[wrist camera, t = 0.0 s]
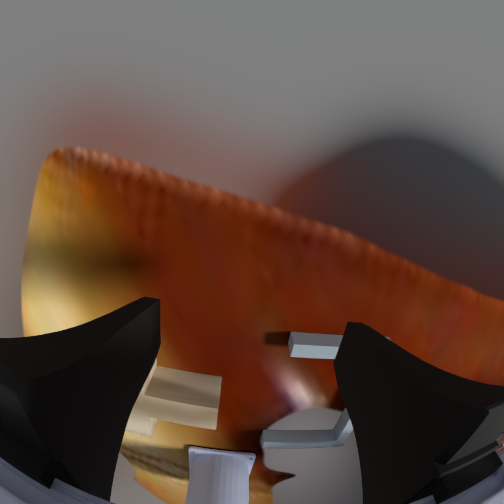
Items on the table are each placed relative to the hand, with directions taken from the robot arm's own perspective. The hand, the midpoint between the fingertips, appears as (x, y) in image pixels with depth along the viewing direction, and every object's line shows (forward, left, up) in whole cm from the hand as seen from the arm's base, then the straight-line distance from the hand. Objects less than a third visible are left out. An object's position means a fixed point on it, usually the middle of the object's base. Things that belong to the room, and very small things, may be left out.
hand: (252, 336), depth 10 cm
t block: (-13, +6, -10) cm, 18 cm away
